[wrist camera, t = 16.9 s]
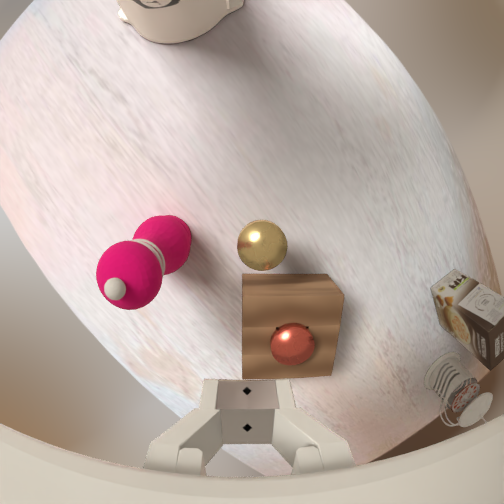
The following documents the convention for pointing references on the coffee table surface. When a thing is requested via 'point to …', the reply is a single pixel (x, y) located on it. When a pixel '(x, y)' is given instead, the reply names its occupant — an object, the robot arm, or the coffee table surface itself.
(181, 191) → the coffee table surface
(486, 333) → the coffee box
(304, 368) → the hitch block
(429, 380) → the french press
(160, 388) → the coffee table surface
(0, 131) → the coffee table surface
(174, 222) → the pepper mill
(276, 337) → the red round-headed grey cylinder
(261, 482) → the robot arm
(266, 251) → the brass pin
